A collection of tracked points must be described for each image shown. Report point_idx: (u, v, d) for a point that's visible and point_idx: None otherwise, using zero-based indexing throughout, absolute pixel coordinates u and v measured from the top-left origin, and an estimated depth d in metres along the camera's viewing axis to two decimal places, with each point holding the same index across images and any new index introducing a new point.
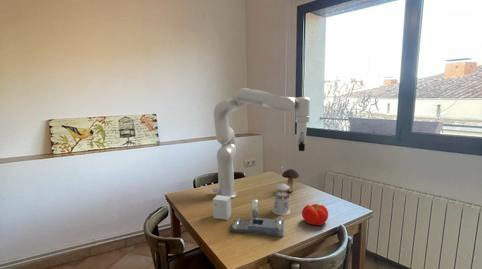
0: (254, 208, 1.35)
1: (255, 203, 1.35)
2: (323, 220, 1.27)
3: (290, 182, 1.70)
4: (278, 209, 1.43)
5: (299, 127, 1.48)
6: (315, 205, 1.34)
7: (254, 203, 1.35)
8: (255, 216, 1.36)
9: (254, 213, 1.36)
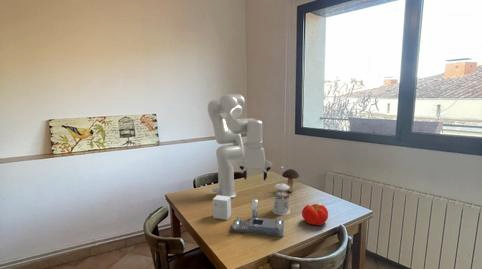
0: (254, 208, 1.35)
1: (255, 203, 1.35)
2: (323, 220, 1.27)
3: (290, 182, 1.70)
4: (278, 209, 1.43)
5: (264, 154, 1.30)
6: (315, 205, 1.34)
7: (254, 203, 1.35)
8: (255, 216, 1.36)
9: (254, 213, 1.36)
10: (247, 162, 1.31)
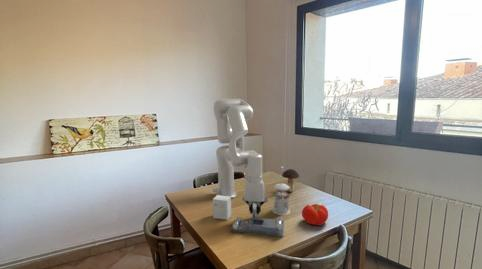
0: (254, 208, 1.35)
1: (255, 203, 1.35)
2: (323, 220, 1.27)
3: (290, 182, 1.70)
4: (278, 209, 1.43)
5: (263, 187, 1.33)
6: (315, 205, 1.34)
7: (254, 203, 1.35)
8: (255, 216, 1.36)
9: (254, 213, 1.36)
10: (247, 195, 1.34)
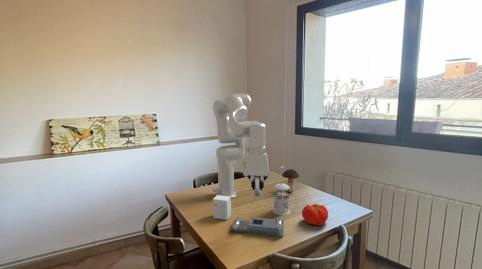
0: (256, 184, 1.23)
1: (258, 178, 1.22)
2: (323, 220, 1.27)
3: (290, 182, 1.70)
4: (278, 209, 1.43)
5: (267, 160, 1.20)
6: (315, 205, 1.34)
7: (257, 178, 1.22)
8: (258, 192, 1.24)
9: (257, 189, 1.23)
10: (249, 168, 1.21)
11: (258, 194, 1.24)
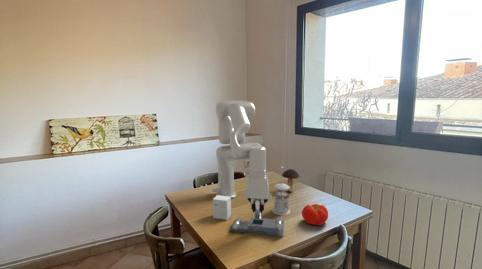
0: (256, 206, 1.23)
1: (258, 200, 1.23)
2: (323, 220, 1.27)
3: (290, 182, 1.70)
4: (278, 209, 1.43)
5: (267, 183, 1.20)
6: (315, 205, 1.34)
7: (257, 200, 1.23)
8: (258, 215, 1.24)
9: (257, 212, 1.24)
10: (249, 191, 1.21)
11: (258, 216, 1.24)
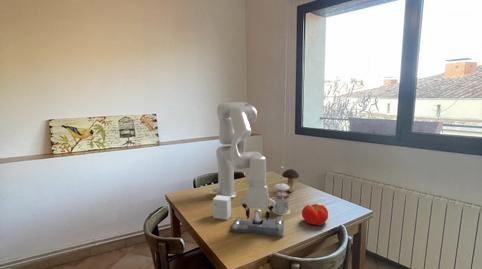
0: (256, 219, 1.24)
1: (258, 213, 1.24)
2: (323, 220, 1.27)
3: (290, 182, 1.70)
4: (278, 209, 1.43)
5: (267, 192, 1.21)
6: (315, 205, 1.34)
7: (257, 213, 1.24)
8: None
9: None
10: (249, 200, 1.22)
11: None
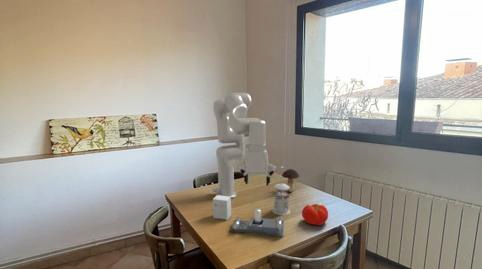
0: (256, 219, 1.24)
1: (258, 213, 1.24)
2: (323, 220, 1.27)
3: (290, 182, 1.70)
4: (278, 209, 1.43)
5: (267, 157, 1.19)
6: (315, 205, 1.34)
7: (257, 213, 1.24)
8: None
9: None
10: (249, 166, 1.20)
11: None
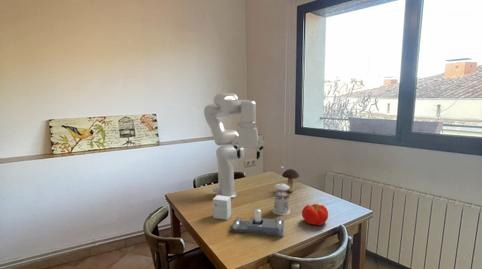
0: (256, 219, 1.24)
1: (258, 213, 1.24)
2: (323, 220, 1.27)
3: (290, 182, 1.70)
4: (278, 209, 1.43)
5: (257, 133, 1.34)
6: (315, 205, 1.34)
7: (257, 213, 1.24)
8: None
9: None
10: (241, 141, 1.35)
11: None
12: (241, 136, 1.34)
